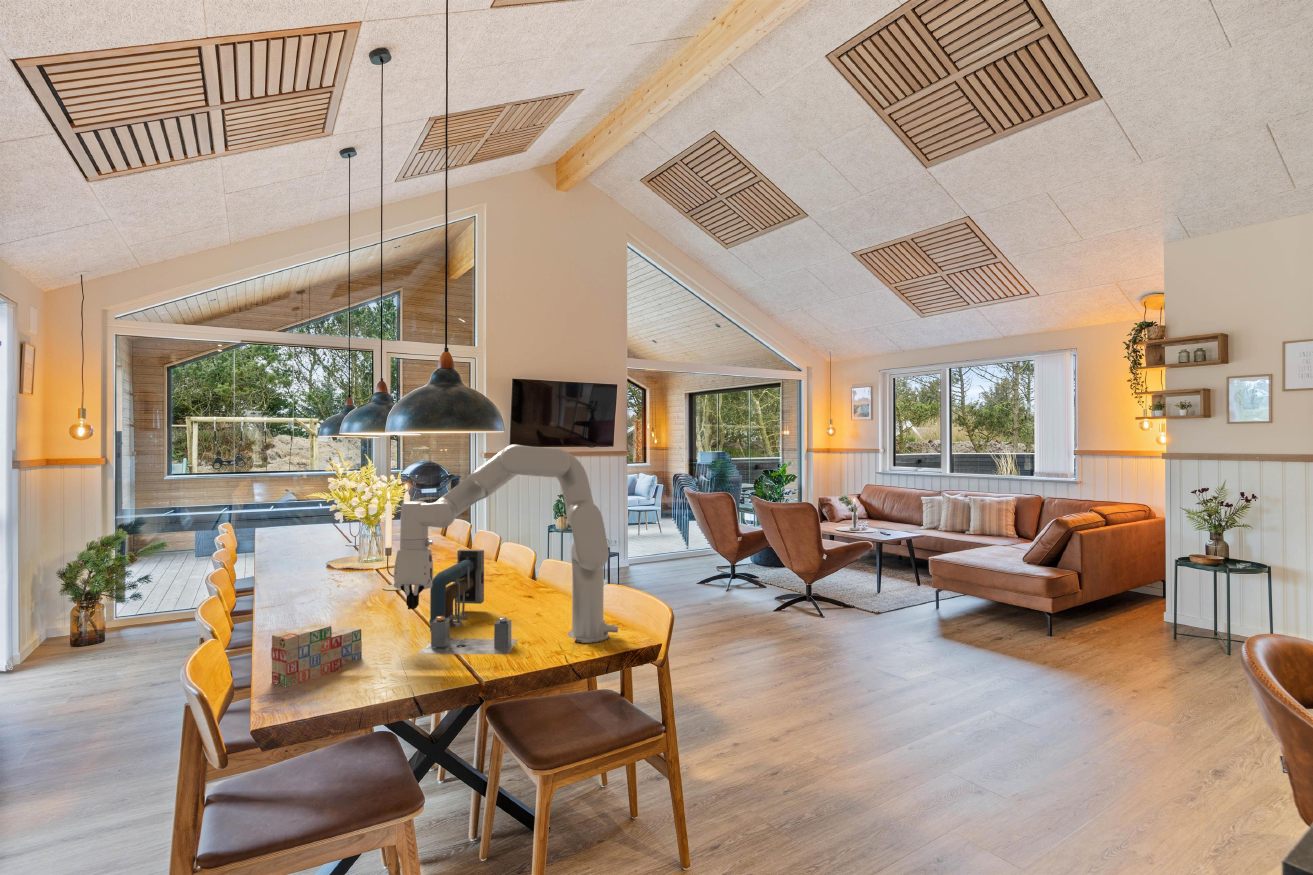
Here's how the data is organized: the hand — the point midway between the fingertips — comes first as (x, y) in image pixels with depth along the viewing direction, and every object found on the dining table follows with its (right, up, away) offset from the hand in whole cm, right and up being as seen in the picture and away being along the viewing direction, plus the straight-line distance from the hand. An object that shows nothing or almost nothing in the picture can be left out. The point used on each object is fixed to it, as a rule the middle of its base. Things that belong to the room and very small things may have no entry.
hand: (412, 608), depth 196 cm
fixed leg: (+26, -11, 0) cm, 28 cm away
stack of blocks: (-18, -12, -18) cm, 29 cm away
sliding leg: (+8, -11, 0) cm, 13 cm away
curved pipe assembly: (+3, -12, +28) cm, 31 cm away
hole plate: (+16, -12, 0) cm, 20 cm away
